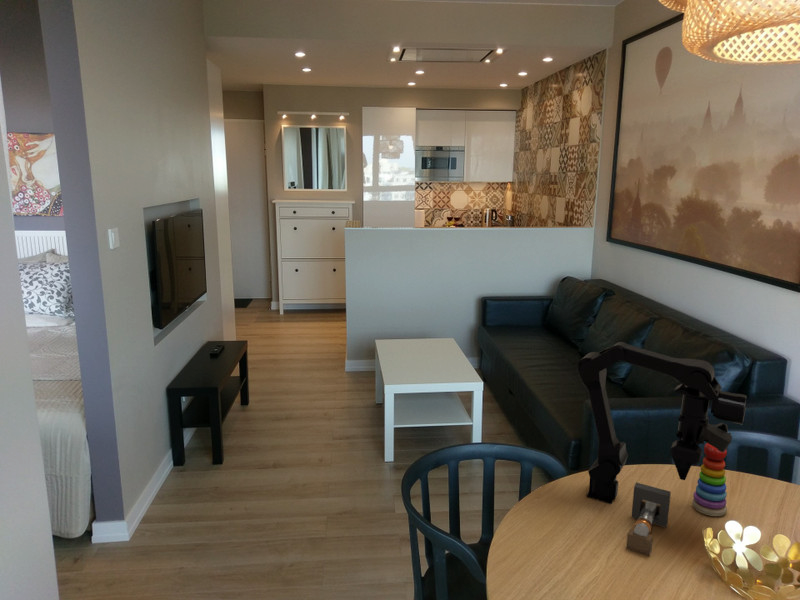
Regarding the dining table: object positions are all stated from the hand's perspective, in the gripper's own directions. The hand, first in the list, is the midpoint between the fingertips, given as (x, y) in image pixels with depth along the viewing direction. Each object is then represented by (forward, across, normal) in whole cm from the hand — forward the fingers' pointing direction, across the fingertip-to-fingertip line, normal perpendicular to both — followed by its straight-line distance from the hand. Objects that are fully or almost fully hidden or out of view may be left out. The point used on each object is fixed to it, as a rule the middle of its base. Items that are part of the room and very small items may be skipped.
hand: (685, 471), depth 140 cm
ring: (+13, -6, +6) cm, 16 cm away
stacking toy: (+13, +8, -6) cm, 17 cm away
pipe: (+13, -10, +6) cm, 18 cm away
